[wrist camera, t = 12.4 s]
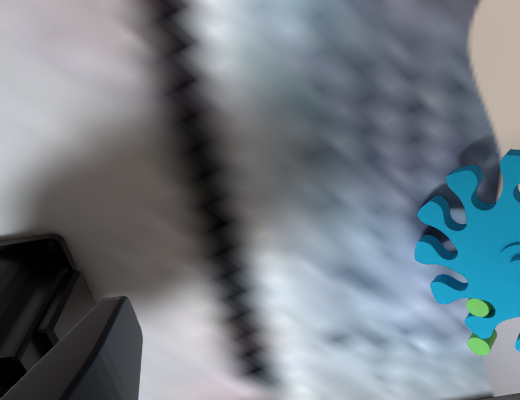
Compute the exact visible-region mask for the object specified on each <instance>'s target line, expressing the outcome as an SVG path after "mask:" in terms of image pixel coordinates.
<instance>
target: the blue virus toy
mask: <svg viewBox="0 0 520 400" xmlns="http://www.w3.org/2000/svg"><path fill="white" fill-rule="evenodd" d="M500 170H501V173H502V176H503V190H502V194H501V196H500V198H499V200H498V201H497V202H496V203H493V204H487V203H484V202H482V201H481V200H480V199H479V198H478V196H477V188H478V187H479V185H480V183H481V181H482V178H483V174H482V171H481V169H480V167H479V166H477V165H468V166H464V167H461V168H458V169H456V170H453V171H452V172H451V173H450V174H449V175H448V176H447V179H446V180H447V184H448V187H449V188H450V189H451V190H452V191H453V192H454V193H455V194H456V195H457V196H458V197H459V198H460V200H461V202H462V203H463V206H464V208H465V212H466V219H467V224H458V223H456V222H455V221H454V220H453V219H452V218H451V215H450V209H449V204H448V202H447V201H446V200H445V199H444V198H443V197H441V196H439V195H437V196H435V197H433V198H432V199H430V200H429V201H428V202H427V203H426V204H425V205H424V206H423V207H422V208H421V209H420V211H419V212H418V214H417V216H418V218H419V219H420V220H421V221H422V222H423V223H425V224H427V225H430V226H433V227H435V228H437V229H439V230H440V231H442V232H443V233H444V234H445V235H446V236H447V237H448V238H449V239H450V240H451V241H452V243H453V244H454V245H455V247H456V248H457V251H458V252H457V253H452V252H449V251H448V250H446V249H445V248H444V246H443V245H442V244H441V242H440V241H439V240H438V239H437V238H436V237H434V236H431V235H424V236H423V237H422V238H421V239H420V240H419V241H418V243H417V245H416V248H415V259H416V260H417V261H418V262H420V263H422V264H438V265H443V266H446V267H448V268H450V269H452V270H454V271H456V272H458V273H460V274H461V275H463V276H464V277H465V278H466V279H467V281H468V283H462V282H460V281H458V280H456V279H454V278H453V277H451V276H449V275H445V274H441V275H438V276H436V278H435V279H434V280H433V281H432V283H431V290H432V293H433V295H434V297H435V299H436V301H437V302H438V303H440V304H449V303H451V302H452V301H454V300H457V299H460V298H469V299H468V301H467V303H466V307H467V309H468V311H469V312H470V313H469V314H468V316H467V318H466V319H465V324H466V325H467V326H468V328H469V329H470V330H471V331H472V332H473V333H472V335H471V336H470V338H469V340H468V346H469V348H470V349H471V350H472V351H473V352H474V353H476V354H478V355H487V354H488V353H489V352H490V350H491V347H492V345H493V343H494V341H495V339H496V337H497V333H496V331H495V327H496V326H497V325H498V324H499V323H501V322H502V321H505V320H507V319H511V318H515V317H520V192H519V190H518V184H519V183H520V150H513V149H511V150H509V151H508V152H507V154H506V155H505V156H504V157H503V158H502V160H501V162H500ZM515 347H516V349H517V350H518V351H519V352H520V334H519V336H518V339H517V341H516V344H515Z"/></svg>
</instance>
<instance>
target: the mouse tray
mask: <svg viewBox="0 0 520 400" xmlns="http://www.w3.org/2000/svg"><path fill="white" fill-rule="evenodd" d="M479 400H520V393H518V394H512V395H505V396H499V397H492V398H486V399H479Z"/></svg>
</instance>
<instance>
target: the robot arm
mask: <svg viewBox="0 0 520 400" xmlns="http://www.w3.org/2000/svg"><path fill="white" fill-rule="evenodd" d="M49 242H50V243H54V244H55V245H56V246H52V245H50V243H49ZM142 344H143V337H142V330H141V327H140V325H139V322H138V320H137V317H136V314H135V312H134V309H133V307H132V304H131V302H130V300H129V299H128V298H127V297H126V296H118V297H111V298H106V299H103V300H101V301H100V302H99V303H98V304H97V305H96V303H95V301H94V299H93V296H92V294H91V292H90V290H89V287H88V285H87V283H86V281H85V279H84V276H83V274H82V272H81V271H79V270H78V269H77V267H76V265H75V263H74V260H73V258H72V256H71V254H70V252H69V249H68V247H67V245H66V243H65V241H64V239H63V238H62V237H61V236H59V235H57V234H45V235H39V236H33V237H26V238H20V239H14V240H7V241H1V242H0V400H138V396H139V383H140V370H141V357H142Z"/></svg>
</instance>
